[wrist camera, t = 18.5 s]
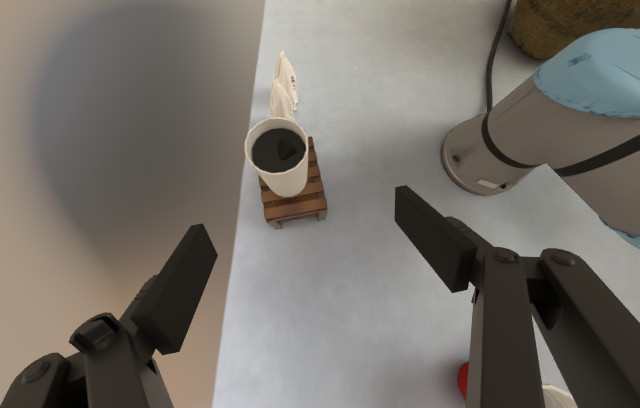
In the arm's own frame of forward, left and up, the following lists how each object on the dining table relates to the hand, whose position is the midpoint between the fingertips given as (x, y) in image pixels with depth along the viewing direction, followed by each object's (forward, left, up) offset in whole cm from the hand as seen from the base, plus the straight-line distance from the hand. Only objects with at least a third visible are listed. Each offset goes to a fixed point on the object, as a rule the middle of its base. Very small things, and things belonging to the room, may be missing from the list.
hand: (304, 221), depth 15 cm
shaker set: (-19, -19, -25) cm, 37 cm away
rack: (-6, -8, -25) cm, 27 cm away
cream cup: (-6, -8, -16) cm, 19 cm away
